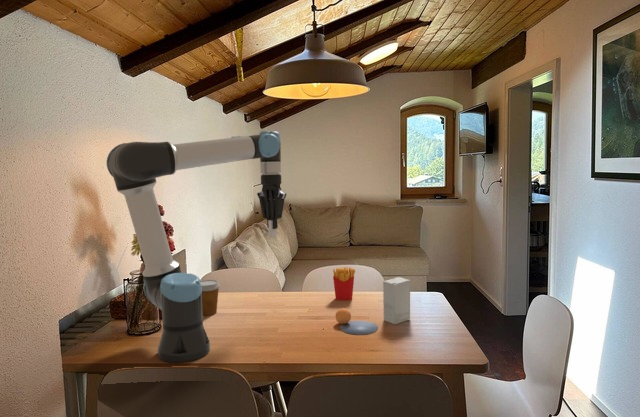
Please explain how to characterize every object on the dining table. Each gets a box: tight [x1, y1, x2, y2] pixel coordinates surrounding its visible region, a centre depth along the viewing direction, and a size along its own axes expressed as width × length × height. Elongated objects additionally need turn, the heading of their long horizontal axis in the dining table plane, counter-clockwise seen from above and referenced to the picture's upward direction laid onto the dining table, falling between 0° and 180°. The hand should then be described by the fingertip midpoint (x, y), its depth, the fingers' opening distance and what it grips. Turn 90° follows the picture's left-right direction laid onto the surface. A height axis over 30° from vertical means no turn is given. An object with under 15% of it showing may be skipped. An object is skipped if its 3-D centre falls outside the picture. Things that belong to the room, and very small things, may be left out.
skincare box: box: [382, 276, 411, 325], centre depth 164 cm, size 8×6×15 cm
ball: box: [334, 307, 352, 325], centre depth 162 cm, size 6×6×6 cm
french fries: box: [332, 266, 356, 301], centre depth 191 cm, size 9×4×13 cm, turn 89°
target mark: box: [339, 320, 379, 336], centre depth 158 cm, size 13×13×1 cm
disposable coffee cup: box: [200, 279, 221, 317], centre depth 176 cm, size 10×10×12 cm
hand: (272, 237), depth 171 cm, fingers closed
